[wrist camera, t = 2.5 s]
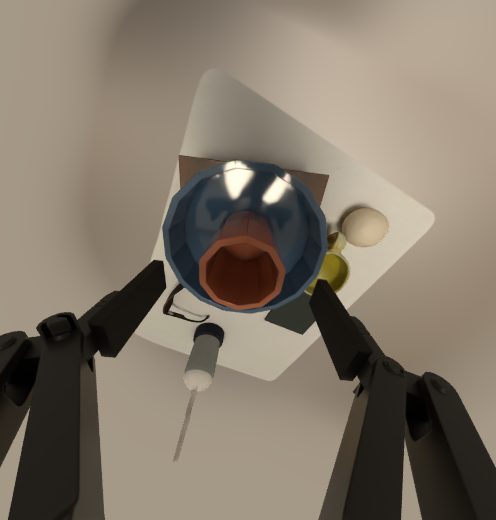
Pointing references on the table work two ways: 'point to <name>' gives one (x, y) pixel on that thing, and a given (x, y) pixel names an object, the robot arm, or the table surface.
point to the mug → (333, 264)
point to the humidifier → (200, 367)
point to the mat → (293, 314)
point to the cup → (242, 262)
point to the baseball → (365, 227)
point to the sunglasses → (169, 303)
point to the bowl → (239, 199)
